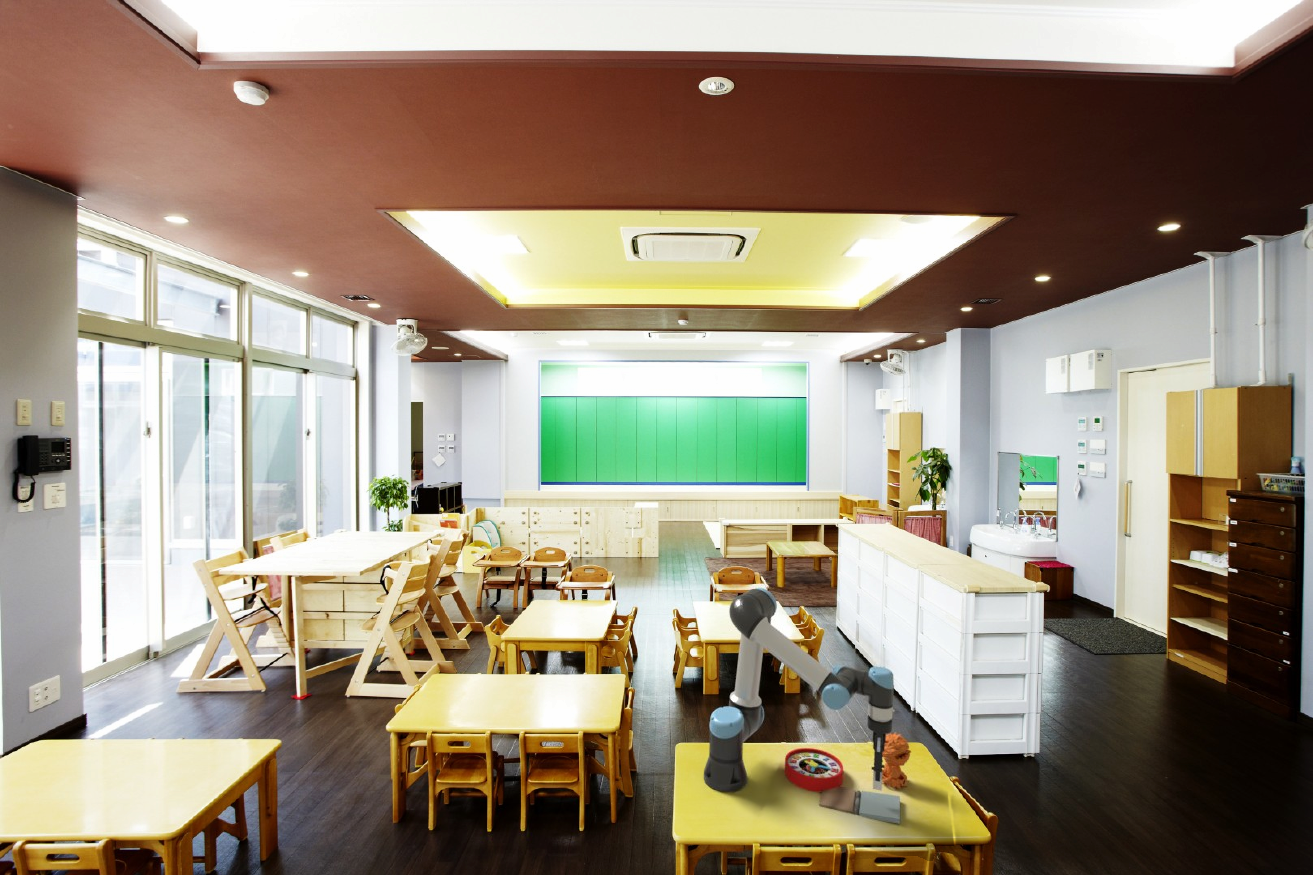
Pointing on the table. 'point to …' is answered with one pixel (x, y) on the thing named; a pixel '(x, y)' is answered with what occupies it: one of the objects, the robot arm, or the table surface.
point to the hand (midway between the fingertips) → (877, 788)
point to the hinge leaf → (879, 806)
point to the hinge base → (840, 799)
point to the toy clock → (813, 769)
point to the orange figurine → (895, 760)
